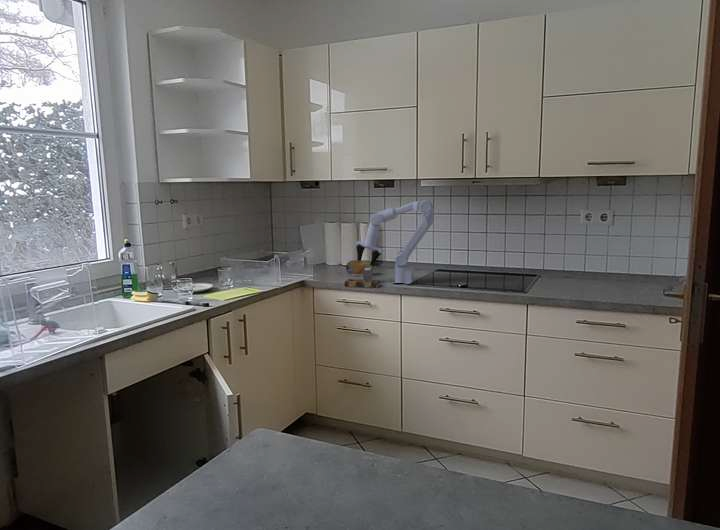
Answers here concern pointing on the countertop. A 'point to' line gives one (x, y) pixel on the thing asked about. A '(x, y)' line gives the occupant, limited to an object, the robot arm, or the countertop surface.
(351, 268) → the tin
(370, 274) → the plug
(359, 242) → the robot arm
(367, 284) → the brown flat block
